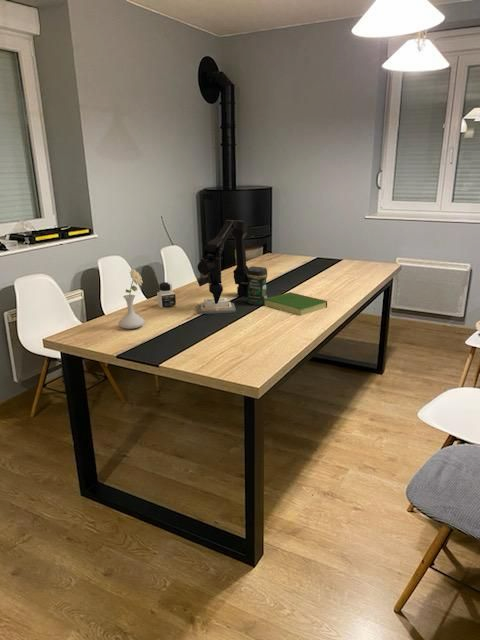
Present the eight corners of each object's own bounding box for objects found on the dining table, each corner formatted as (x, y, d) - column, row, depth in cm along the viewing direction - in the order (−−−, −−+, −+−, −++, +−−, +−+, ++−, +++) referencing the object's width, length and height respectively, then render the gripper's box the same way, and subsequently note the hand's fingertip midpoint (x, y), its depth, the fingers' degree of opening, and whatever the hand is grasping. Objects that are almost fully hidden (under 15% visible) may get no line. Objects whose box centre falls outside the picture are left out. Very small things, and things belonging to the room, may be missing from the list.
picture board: (233, 304, 241) (233, 300, 240) (235, 312, 228) (235, 307, 228) (197, 306, 239) (197, 302, 239) (197, 314, 227) (197, 309, 226)
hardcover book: (326, 308, 233) (327, 301, 232) (301, 316, 222) (301, 308, 220) (288, 298, 251) (288, 291, 250) (262, 306, 239) (262, 298, 238)
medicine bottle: (162, 309, 235) (160, 285, 232) (157, 305, 241) (156, 282, 238) (176, 307, 238) (174, 283, 235) (171, 303, 245) (170, 280, 241)
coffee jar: (245, 303, 242) (244, 267, 236) (253, 300, 248) (253, 264, 243) (261, 306, 237) (261, 269, 231) (269, 302, 243) (269, 266, 237)
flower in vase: (132, 332, 203) (127, 274, 196) (113, 328, 209) (107, 271, 201) (153, 324, 214) (149, 268, 206) (134, 320, 220) (129, 265, 212)
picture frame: (226, 303, 237) (226, 297, 236) (228, 307, 231) (228, 300, 230) (204, 305, 235) (203, 298, 234) (205, 308, 230) (205, 302, 229)
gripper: (197, 266, 236) (199, 297, 241) (197, 274, 218) (199, 307, 223) (220, 265, 237) (221, 296, 242) (222, 273, 219) (223, 306, 224)
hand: (215, 301), depth 233 cm, fingers open, 7 cm apart
